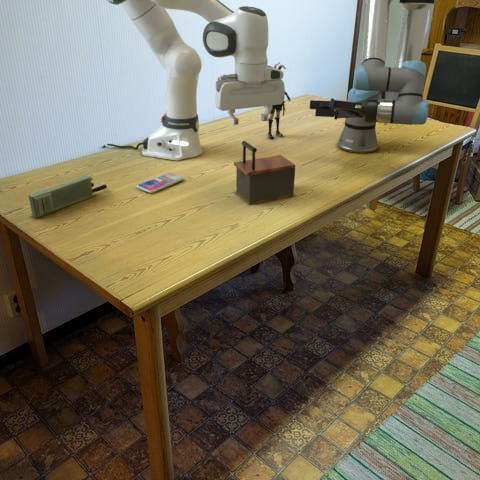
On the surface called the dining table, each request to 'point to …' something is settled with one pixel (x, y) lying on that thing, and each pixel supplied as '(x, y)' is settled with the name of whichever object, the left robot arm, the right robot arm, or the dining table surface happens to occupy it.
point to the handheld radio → (62, 195)
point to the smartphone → (159, 182)
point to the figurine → (277, 112)
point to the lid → (261, 162)
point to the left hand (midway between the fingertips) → (249, 122)
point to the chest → (265, 185)
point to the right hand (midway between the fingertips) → (312, 108)
